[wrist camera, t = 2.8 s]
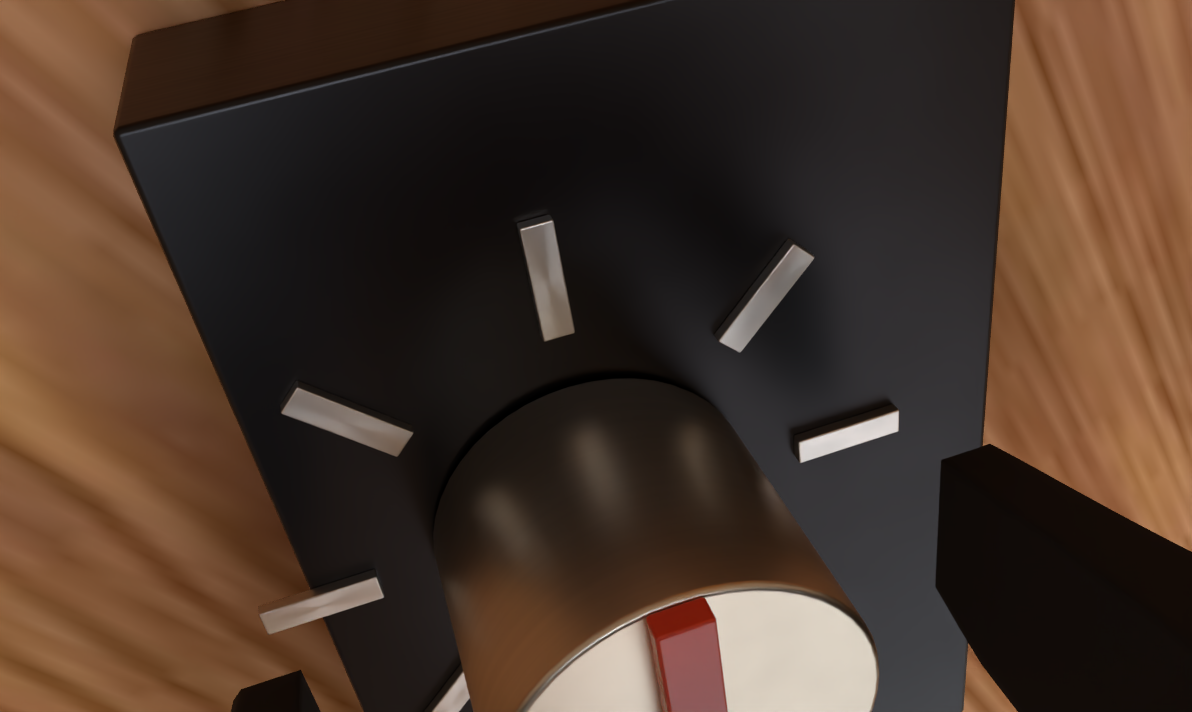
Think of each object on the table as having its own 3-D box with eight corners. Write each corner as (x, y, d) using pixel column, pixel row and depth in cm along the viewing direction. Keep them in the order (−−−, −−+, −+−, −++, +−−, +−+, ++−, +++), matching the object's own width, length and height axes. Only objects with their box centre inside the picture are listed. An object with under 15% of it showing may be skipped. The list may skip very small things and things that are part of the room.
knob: (754, 574, 15) (896, 813, 12) (471, 670, 14) (543, 948, 11) (732, 335, 13) (900, 553, 9) (394, 436, 12) (457, 705, 9)
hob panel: (877, 590, 21) (970, 721, 18) (384, 760, 19) (410, 929, 17) (876, -139, 13) (1035, -92, 11) (74, 48, 12) (36, 156, 9)
